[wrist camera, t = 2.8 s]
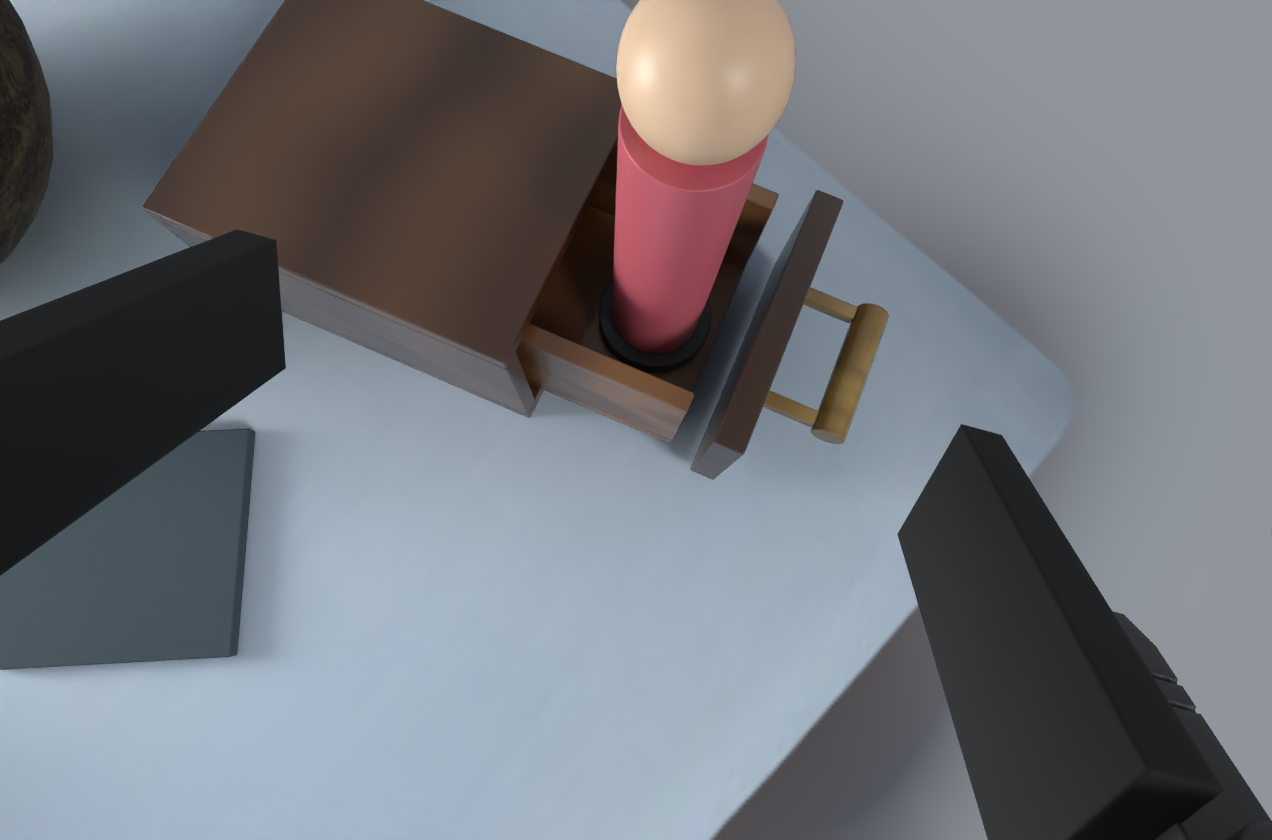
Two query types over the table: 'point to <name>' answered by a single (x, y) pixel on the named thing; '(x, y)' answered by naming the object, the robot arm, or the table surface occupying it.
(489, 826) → the table surface
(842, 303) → the drawer
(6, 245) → the bowl
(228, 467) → the mat
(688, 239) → the ball-topped pink peg
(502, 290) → the cabinet
